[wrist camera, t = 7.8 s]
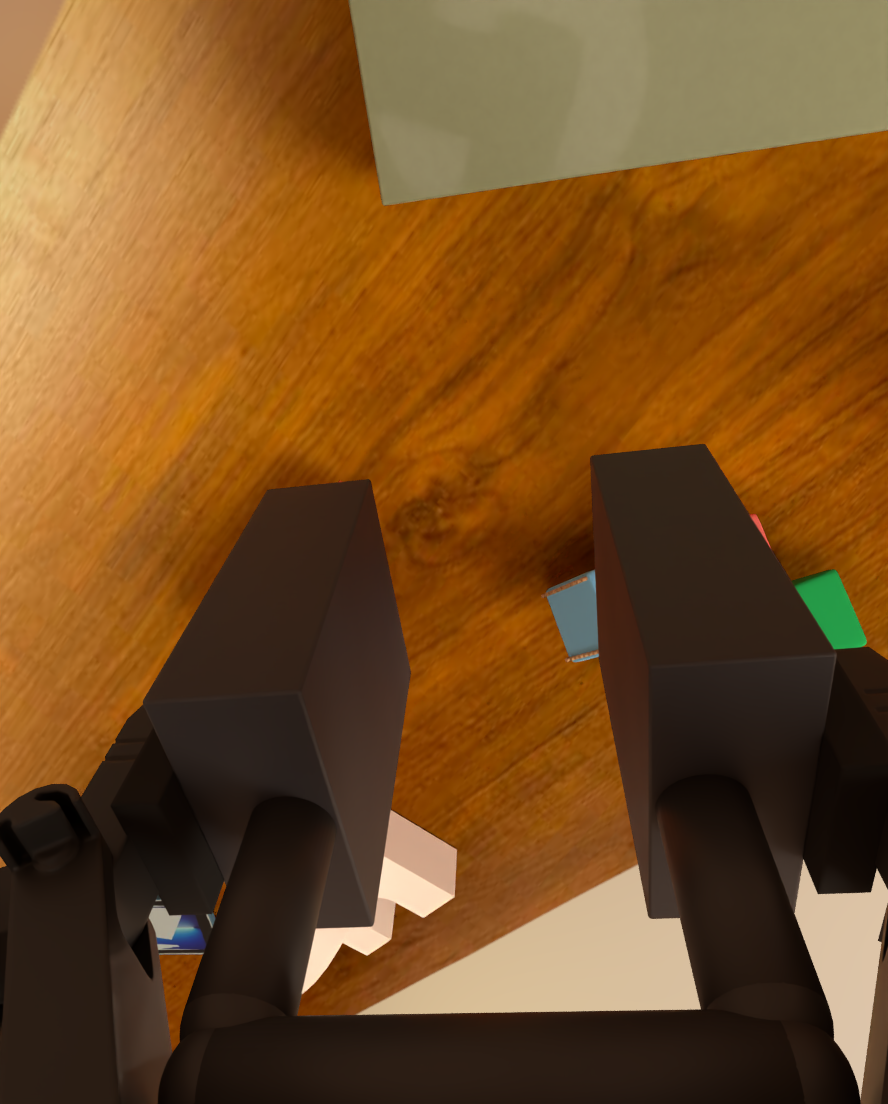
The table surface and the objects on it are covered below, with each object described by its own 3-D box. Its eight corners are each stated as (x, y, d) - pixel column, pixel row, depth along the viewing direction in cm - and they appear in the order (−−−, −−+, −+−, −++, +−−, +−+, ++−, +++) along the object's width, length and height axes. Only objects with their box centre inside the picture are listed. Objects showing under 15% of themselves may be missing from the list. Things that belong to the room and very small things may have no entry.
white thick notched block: (456, 849, 53) (449, 1011, 43) (374, 908, 57) (350, 1068, 47) (244, 721, 47) (182, 874, 38) (169, 796, 52) (97, 951, 42)
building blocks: (695, 540, 44) (537, 592, 38) (811, 493, 37) (639, 548, 31) (746, 666, 43) (592, 739, 37) (876, 642, 36) (710, 728, 30)
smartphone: (224, 954, 60) (46, 955, 61) (227, 943, 61) (51, 944, 62) (202, 898, 56) (13, 901, 57) (206, 887, 57) (19, 889, 58)
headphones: (266, 488, 17) (-53, 1026, 7) (705, 442, 16) (1063, 1009, 6) (321, 679, 19) (151, 1250, 10) (696, 651, 18) (928, 1271, 9)
